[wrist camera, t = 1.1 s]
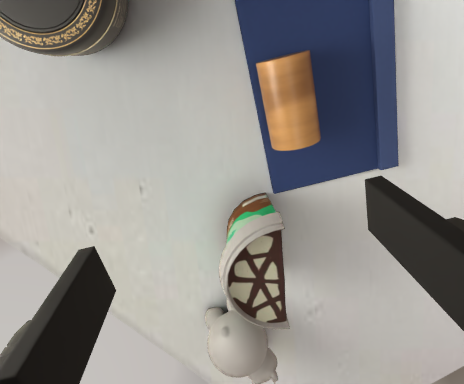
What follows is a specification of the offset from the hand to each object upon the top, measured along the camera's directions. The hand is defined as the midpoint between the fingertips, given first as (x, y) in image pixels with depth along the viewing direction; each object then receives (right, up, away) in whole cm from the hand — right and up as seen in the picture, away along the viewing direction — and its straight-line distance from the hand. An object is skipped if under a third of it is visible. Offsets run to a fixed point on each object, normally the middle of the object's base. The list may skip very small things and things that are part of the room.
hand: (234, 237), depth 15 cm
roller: (+5, +11, +14) cm, 19 cm away
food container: (+1, -2, +23) cm, 23 cm away
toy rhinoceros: (+2, -16, +28) cm, 32 cm away
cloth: (+9, +14, +16) cm, 23 cm away
